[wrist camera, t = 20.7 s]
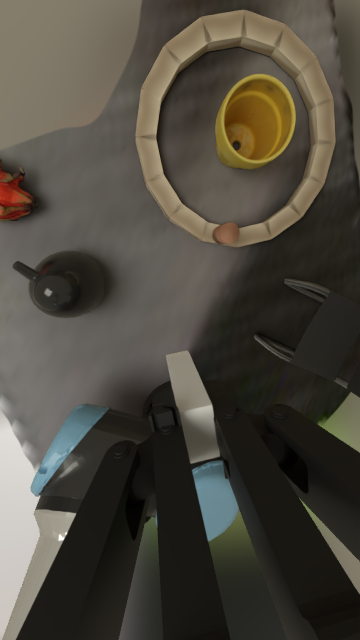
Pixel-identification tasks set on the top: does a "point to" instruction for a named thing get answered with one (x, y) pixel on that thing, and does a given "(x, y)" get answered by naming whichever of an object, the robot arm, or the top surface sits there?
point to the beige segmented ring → (293, 60)
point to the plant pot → (255, 122)
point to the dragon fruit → (14, 197)
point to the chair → (323, 336)
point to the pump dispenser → (64, 284)
